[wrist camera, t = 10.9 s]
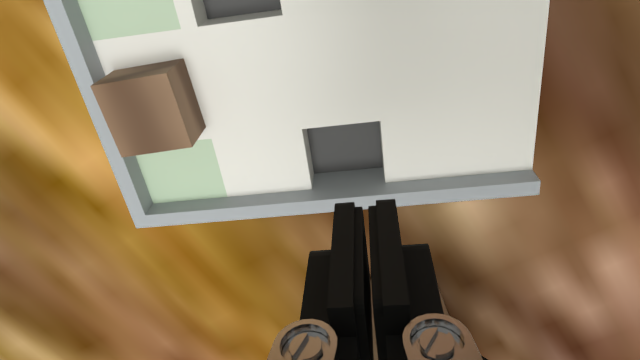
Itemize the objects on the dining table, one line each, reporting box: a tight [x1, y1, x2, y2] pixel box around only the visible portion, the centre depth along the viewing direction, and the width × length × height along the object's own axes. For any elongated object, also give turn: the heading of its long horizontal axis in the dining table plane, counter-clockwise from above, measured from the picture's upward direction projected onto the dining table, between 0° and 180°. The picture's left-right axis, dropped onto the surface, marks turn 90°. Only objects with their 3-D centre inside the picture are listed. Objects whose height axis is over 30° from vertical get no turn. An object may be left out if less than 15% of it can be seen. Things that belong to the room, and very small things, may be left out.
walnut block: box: [90, 58, 206, 157], centre depth 27 cm, size 4×4×3 cm
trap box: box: [43, 0, 550, 228], centre depth 28 cm, size 27×18×4 cm, turn 98°
